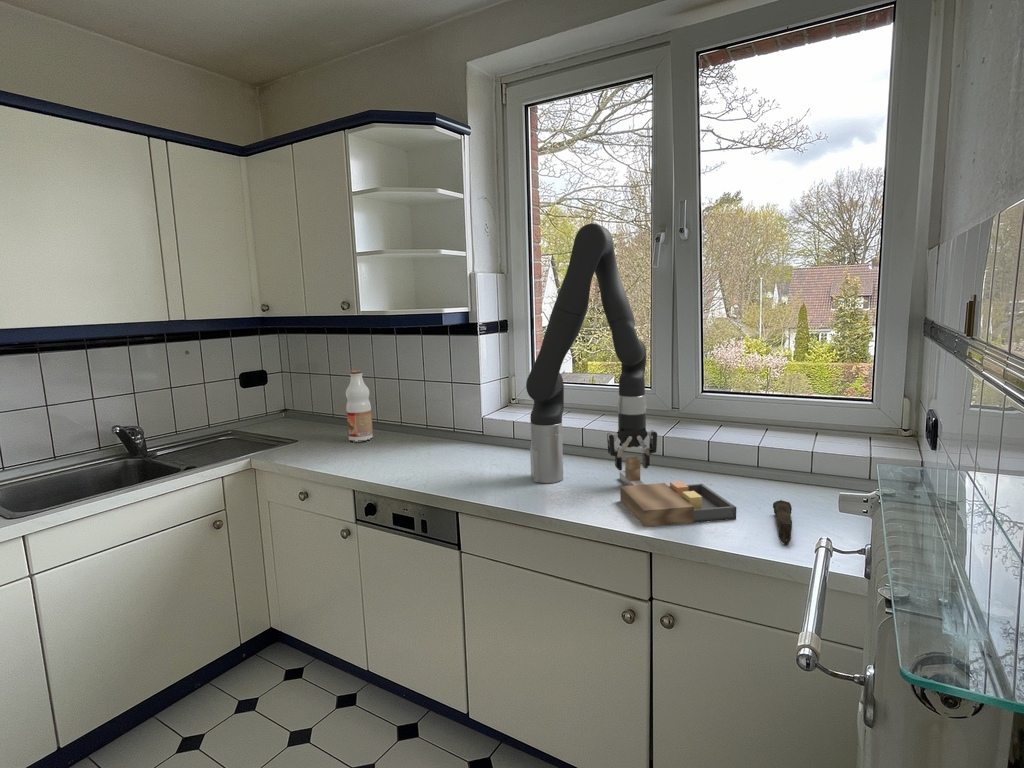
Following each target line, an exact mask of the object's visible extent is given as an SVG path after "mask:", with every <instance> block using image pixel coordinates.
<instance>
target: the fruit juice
mask: <svg viewBox="0 0 1024 768" xmlns="http://www.w3.org/2000/svg"><path fill="white" fill-rule="evenodd" d="M363 374H364V373H363V370H362V369H354V370H353V369H351V370H349V376H350V381H349V384H348V386H347V388H346V389H345V396H346V399H347V402H346V406H345V407H346V408H345V409H346V419H347V421H346V422H347V431H348V432H347V433H348V441H349V440H355V441H358V440H367V439H370V438H372V437H373V438H374V433H373V431H374V429H373V419H372V418H373V417H372V406H371V401H370V399H369V398H370V389H369V387H368V386H367V385H366V384H365V381H364V379H363Z"/></svg>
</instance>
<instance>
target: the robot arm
mask: <svg viewBox="0 0 1024 768" xmlns="http://www.w3.org/2000/svg"><path fill="white" fill-rule="evenodd" d="M574 237H575V238H574V242H573V245H572V249H571V253H570V254H571V255H570V259H569V263H568V266H567V270H566V273H565V276H564V278H563V280H562V283H561V286H560V289H559V291H558V294H557V297H556V299H555V302H554V304H553V307H552V311H551V313H550V316H549V320H548V323H547V327H546V329H545V332H544V335H543V339H542V343H541V346H540V349H539V352H538V355H537V357H536V360H535V361H534V364H533V366H532V368H531V370H530V372H529V374H528V377H527V379H526V385H525V389H526V393H527V394H528V396H529V397H530V399H532V400H533V407H532V410H531V413H530V417H529V418H530V441H531V442H530V443H531V445H530V446H529V453H530V455H529V456H530V477H531V480H532V481H533V483H538V484H539V483H540V484H552V483H553V484H554V483H558V482H561V481H563V480H564V457H563V456H564V455H563V454H564V450H563V415H564V414H563V413H564V408H565V405H564V402H565V398H564V397H565V396H564V395H565V385H564V380H563V375H562V374H561V372H560V371H561V368H562V365H563V362H564V359H565V358H566V356H567V354H568V352H569V351H570V349H571V348H572V346H573V345H574V342H575V341H576V339H577V337H578V336H579V333H580V332H581V329H582V326H583V323H584V321H585V317H586V315H587V311H588V307H589V301H590V295H591V293H590V292H591V285H592V281H593V277H594V274H595V276H596V279H597V283H598V288H599V293H600V300H601V305H602V309H603V311H604V315H605V318H606V321H607V324H608V327H609V330H610V332H611V338H612V343H613V348H614V351H615V354H616V356H617V357H616V358H617V359H618V360H619V362H620V363H621V373H620V376H619V377H618V402H617V410H618V411H617V416H618V418H617V419H618V420H617V422H618V423H617V426H618V427H617V432H616V433H610V432H608V433H607V434H606V440H607V441H606V442H607V453H608V454H609V455H610V456H612V457H614V466H615V468H616V469H617V470H618V471H623V470H622V469H623V458H622V455H623V453H624V452H625V451H626V449H627V448H638V447H639V448H640V449H641V452H642V468H644V469H648V468H649V467H650V462H651V461H650V458H651V457H650V455H653V454H656V452H657V450H658V449H657V445H658V432H657V431H655V430H652V429H651V430H649V431H647V413H646V412H647V403H646V402H647V401H646V384H645V382H646V381H645V374H646V364H647V347H646V345H645V343H644V342H643V341H642V340H641V339H639V337H638V334H637V331H636V327H635V325H636V321H635V316H634V314H633V310H632V308H631V305H630V302H629V298H628V297H627V293H626V290H625V287H624V284H623V281H622V279H621V275H620V273H619V268H618V263H617V259H616V253H615V252H616V251H615V246H614V245H615V244H614V240H613V239H614V238H613V235H612V233H611V232H610V230H608V229H607V227H605V226H602V225H600V224H598V223H595V222H593V223H587V224H585V225H583V226H581V228H580V229H579V230H578V231H577V233H576V234H575V236H574ZM647 437H648V439H649V446H647V444H646V443H645V439H646V438H647ZM617 438H618V440H619V442H618V444H617V447H616V448H615V442H616V440H617Z"/></svg>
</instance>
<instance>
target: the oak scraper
mask: <svg viewBox="0 0 1024 768" xmlns="http://www.w3.org/2000/svg"><path fill="white" fill-rule="evenodd" d="M624 458H625V459H624V461H625V462H624V463H625V464H624V465H625V467H624V468H625V470H619V480H620V479H621V480H622V481H623V482H624V483H625V484H626V485H627V486H631V485H644V484H645V482H643V481H641V459H640V457H638V456H637V455H627V456H625V457H624ZM621 480H620V481H621ZM622 481H621V482H622ZM623 482H622V483H623ZM624 483H623V484H624ZM625 484H624V485H625ZM626 485H625V486H626Z"/></svg>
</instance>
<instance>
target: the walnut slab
mask: <svg viewBox="0 0 1024 768" xmlns="http://www.w3.org/2000/svg"><path fill="white" fill-rule="evenodd" d="M669 486H670V485H668V484H666V483H665V482H659V483H657V482H656V483H648V484H647V483H646V484H645V483H644V485H631V486H626V485H620V486H619V488H620V489H619V491H620V492H619V493H620V494H619V495H620V498H619V499H620V503H622V504H623V506H624V507H625V508H626V509H627V510H628V511H629V512H630V514H631V515H632V516H634V518H635V519H636V520H637V521H638V522H639V523H640V524H641V525H642V526H643V527H644V528H650V527H660V526H672V525H671V524H675V525H684V523H687V524H695V523H694V506H693V505H691V504H690V503H689V502H688V501H686V500H685V499H684V498H683V497H681V496H680V495H679V494H678V493H676V492H675V491H674V490H673V489H671V488H670V487H669Z"/></svg>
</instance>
